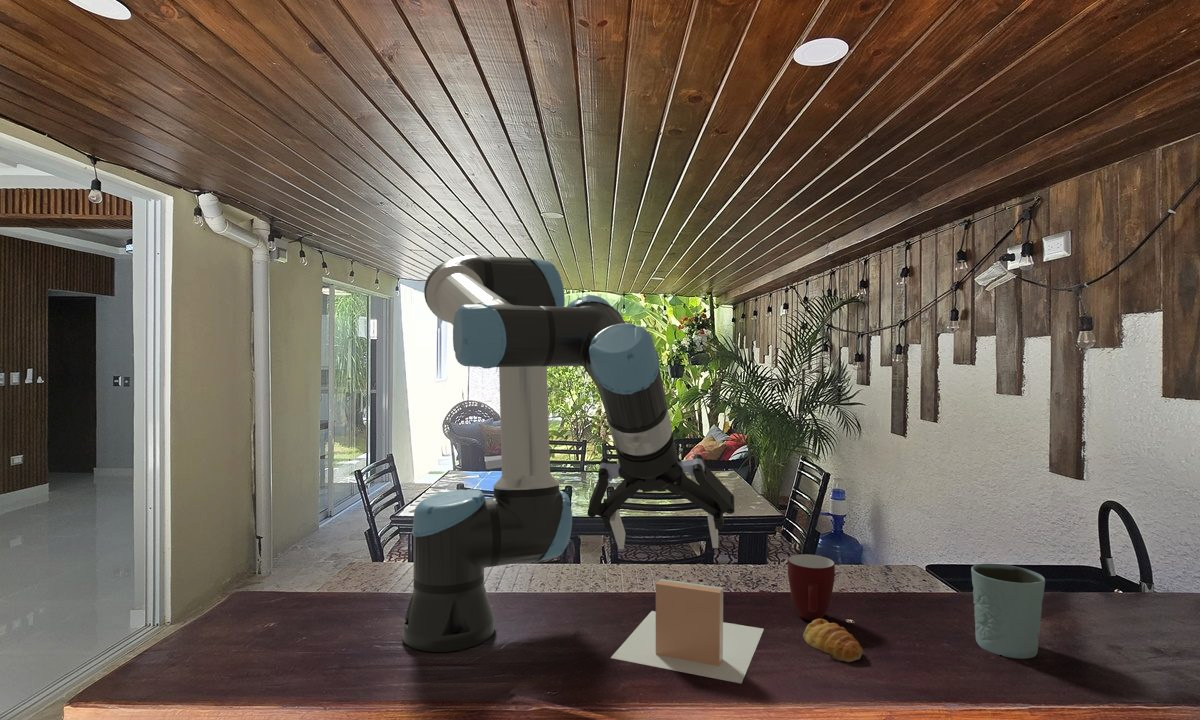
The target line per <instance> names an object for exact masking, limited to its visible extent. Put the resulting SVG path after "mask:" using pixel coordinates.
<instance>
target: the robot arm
mask: <svg viewBox="0 0 1200 720" xmlns="http://www.w3.org/2000/svg"><path fill="white" fill-rule="evenodd" d="M423 290H424V291H423V297H424V300H425V302H426V305H427V307H428V308H429V310H430V311H431V313H432V314H433V315H434V316H435V317H437V318H438V319H439V320H441V321H443V322H446V323H449V324H451V325H452V346H453V351H454V355H455V360H456V361H457V362H458V363H459V364H460V365H462V366H463V367H472V368H473V367H477V368H479V367H480V368H483V369H492V368H498V373H499V374H498V377H499V412H500V413H499V414H500V415H499V418H500V451H501V453H500V455H501V457H500V458H501V459H500V460H501V476H500V478H499V479H498V480H497V481H496V482H495V483H494V485H493V496H492V497H485V495H484V493H483V492H484V491H481V489H474V488H468V489H455V490H449V491H444V492H441V493H437V494H434V495H431V496H429V497H426V498H424V499H423V500H421V501H420V502H419V503H418V504H417V505H416V507H415V509H414V512H413V521H412V523H413V524H412V530H411V534H412V536H413V569H412V570H413V573H412V575H413V576H412V577H413V585H412V586H413V590H412V594H411V596H410V600H409V603H408V606H407V609H406V611H405V612H406V613H405V617H404V619H403V621H402V641H403V642H404V643H405V645H407V646H408V647H410V648H412V649H415V650H418V651H422V652H430V653H447V652H448V653H449V652H456V651H461V650H466V649H470V648H472V647H476V646H478V645H480V644H482V643H484V642H486V641H487V640H489V639H490V638H491V637H492V636H493V634H494V633H495V614H494V612H493V610H492V606H491V602H490V599H489V597H488V596H489V594H488V593H487V590H486V586H485V578H484V577H485V569H486V568H493V567H501V566H507V565H514V564H515V565H517V564H523V563H524V564H525V563H532V562H534V563H540V562H542V561H546V560H551V559H556V558H558V557H559V556H561V555H562V554H563V553H564V551H565V550H566V548H567V546H568V544H569V542H570V540H571V539H570V538H571V533H572V528H573V527H572V526H573V512H572V511H573V509H572V506H571V500H570V496H569V495H568V494H567V493H566V492H565V491H562V490H560V483H559V481H558V480H557V479H556V478H555V477H554V476H553V475H552V474H551V461H550V459H551V457H550V425H549V395H548V394H549V391H548V367H583V369H584V370H585V372H586V373H587V374H588V376H589V377H590V379H591V380H592V382H593V384H594V385H595V387H596V388H597V391H598V393H599V396H600V400H601V403H602V406H603V408H604V412H605V417H606V420H607V424H608V428H609V430H610V431H609V432H610V434H611V437H612V441H613V444H614V449H615V452H616V456H617V459H618V463H610V460H609V459H608V458H602V459H601V460H600V463H599V467H598V474H597V475H598V476H597V477H598V478H597V482H596V484H595V486H594V489H593V492H592V494H591V496H590V499H589V504H588V510H587V513H586V515H587V516H588V517H589V518H595V517H596V516H598V517H600V519H602V521H603V524H604V527H605V530H606V531H607V532H613V536H614V539H615V542H616V545H617V548H618V550H624V549H625V543H626V542H625V541H626V535H627V534H626V531H625V527H624V524H623V521H622V517H621V514H620V511H619V509H620V508H621V507H622V506H623V504H624V503H625V502H626V501H627V500H628V499H630V498H633V496H634V495H636V493H637V492H638V491H642V493H651V492H661V493H663V492H664V493H665V492H666V491H668V492H669V493H671V494H673V495H675V496H676V497H677V496H678V497H679V496H681V497H683V498H684V499H685V500H687V501H689V502H690V503H692V504H694V505H695V506H697V507H698V508H700V509H701V510H703V511H705V512H706V513H707V522H708V523H707V524H708V529H709V535H710V539H711V546H712V549H719V530H723V529H724V527H725V522H724V521H725V518H724V513H726V514H728V515H732V514H734V513H735V495H734V494H732V492H731V490H729V489H728V488H727V487H726V486H725V485H724V484H723V482H722V481H721V480H720V479H719V478H718V477H717V476H716V475H715V474H714V473H713V471H712V470H711V469H710V468H709V467H708V466H707V465H706V463H705V460H704V457H703V455H702V454H700V453H696V454H694V455H693V456H692V457H693V459H689V460H688V459H687V460H682V459H681V458H680V457H679V456H678V452H677V448H676V443H675V438H674V434H673V429H672V424H671V422H672V421H671V419H670V418H671V417H670V413H669V409H668V404H667V399H666V394H665V390H664V384H663V379H662V375H661V369H660V356H659V354H658V351H657V349H656V346H655V343H654V339H653V338H652V335H651V334H650V332H649V331H648V330H647V329H646V328H644V327H642V326H636V325H635V324H634V323H629V322H628V323H626V321H625V320H624V318H623V316H622V315H621V313H620V312H619V310H617V309H616V308H614V306H613V305H611V304H610V303H609V301H608V300H606V299H605V298H602V297H601V296H599V295H593V294H585V295H582V296H581V297H578V298H576V299H573V300H572V301H571V302H570V303H568V304H567V306H565V304H566V303H565V302H566V298H565V289H564V284H563V280H562V277H561V275H560V272H559V270H558V269H557V268H556V266H555V264H553V262H551V261H549V260H544V259H538V258H537V259H536V258H535V259H534V258H533V257H513V256H512V257H509V256H487V255H486V256H485V255H479V254H478V255H475V254H474V255H473V254H471V255H462V256H458V257H453V258H450V259H448V260H446V261H444V262H442V263H440V264H439V265H437V266H436V267H435V268H434V269H433V270H432V271H431V272H430V273H429V275H428V276H427V277H426V280H425V284H424V288H423ZM685 472H686V473H688V474H689V475H690V478H689V477H688V476H687V474H686V473H685ZM617 475H618V476H619V477H620V478H622V479H623V480H622V481H621V482H620V484H618V485H617V486H616V487H615V488H614V489H613V491H612V492H610V494H609V495H608V496H607V498H605V497H604V496H605V494H606V492H607V490H608V487H609V483H610V482H612V480H614V479H615V477H616V476H617ZM692 479H695V481H694V480H692Z"/></svg>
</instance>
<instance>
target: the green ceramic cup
mask: <svg viewBox="0 0 1200 720" xmlns="http://www.w3.org/2000/svg"><path fill="white" fill-rule="evenodd" d="M970 571H971V572H970V573H971V582H972V587H973V588H972V589H973V590H972V595H973V605H974V606H973V609H974V615H973V616H974V623H975V626H974V629H975V631H974V632H975V634H974V635H975V641H976V643H977V645H978V647H980V648H981V649H983V650H984V651H986V652H989V653H991V654H994V655H997V656H1000V655H1002V656H1001V657H1005V658H1010V659H1017V660H1018V659H1020V660H1021V659H1023V660H1024V659H1031V658H1034V657H1036V656H1037V654H1038V652H1039V637H1040V633H1041V632H1040V629H1041V622H1042V620H1041V619H1042V617H1041V616H1042V611H1043V609H1042V607H1043V605H1042V604H1043V599H1044V592H1045V585H1046V579H1045V577H1044V576H1043V575H1042V574H1040V573H1038V572H1036V571H1033V570H1030V569H1027V568H1023V567H1019V566H1015V565H1011V564H1009V565H1008V564H1001V563H978V564H975V565H972V566H971V569H970Z"/></svg>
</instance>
